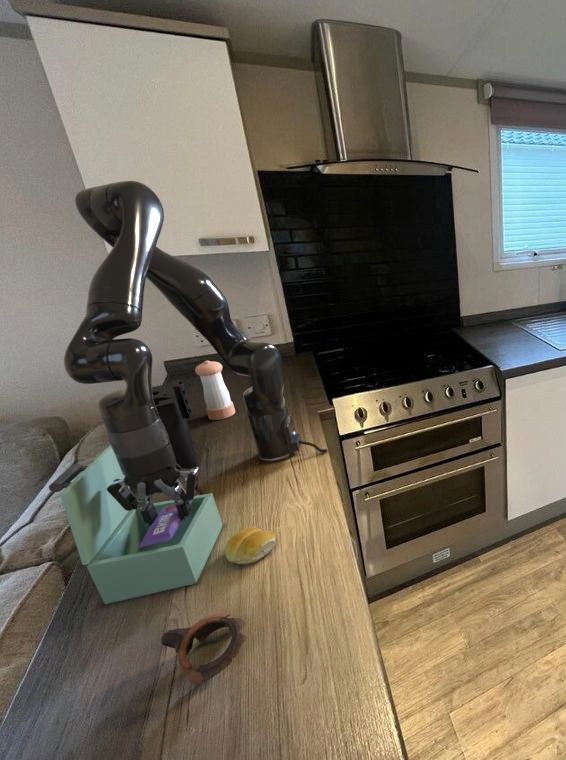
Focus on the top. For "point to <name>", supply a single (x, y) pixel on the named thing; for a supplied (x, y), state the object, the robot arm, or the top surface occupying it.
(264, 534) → the bread roll
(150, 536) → the snack package
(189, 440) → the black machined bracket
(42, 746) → the top surface
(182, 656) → the brown ring with stub
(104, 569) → the box
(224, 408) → the pepper shaker
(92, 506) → the cold box lid
